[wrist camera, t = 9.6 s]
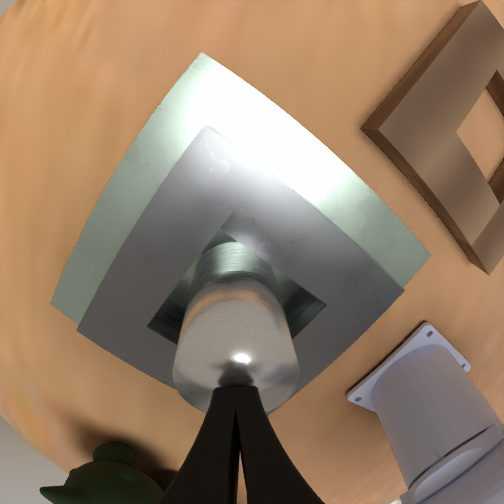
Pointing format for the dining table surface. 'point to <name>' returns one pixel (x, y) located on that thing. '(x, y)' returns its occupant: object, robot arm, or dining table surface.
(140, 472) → the toy figurine
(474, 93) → the walnut stand
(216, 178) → the metal hub block
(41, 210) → the dining table surface
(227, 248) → the steel peg
